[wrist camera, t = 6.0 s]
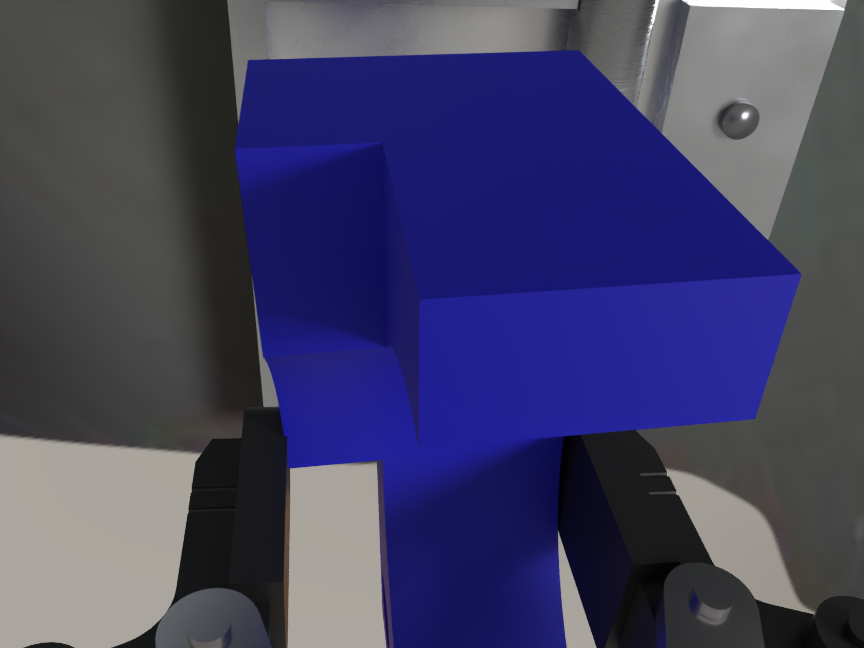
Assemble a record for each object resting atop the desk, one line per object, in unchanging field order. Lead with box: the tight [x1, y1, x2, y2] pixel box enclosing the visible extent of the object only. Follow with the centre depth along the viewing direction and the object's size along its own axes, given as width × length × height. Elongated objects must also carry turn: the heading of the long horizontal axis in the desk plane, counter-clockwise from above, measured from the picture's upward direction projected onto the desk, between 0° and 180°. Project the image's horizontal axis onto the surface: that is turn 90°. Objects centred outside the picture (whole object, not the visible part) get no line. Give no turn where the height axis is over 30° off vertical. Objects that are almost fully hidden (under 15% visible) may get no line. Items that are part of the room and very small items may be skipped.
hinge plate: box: [227, 0, 847, 407], centre depth 28 cm, size 19×18×3 cm
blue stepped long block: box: [235, 50, 801, 648], centre depth 12 cm, size 12×4×6 cm, turn 179°
